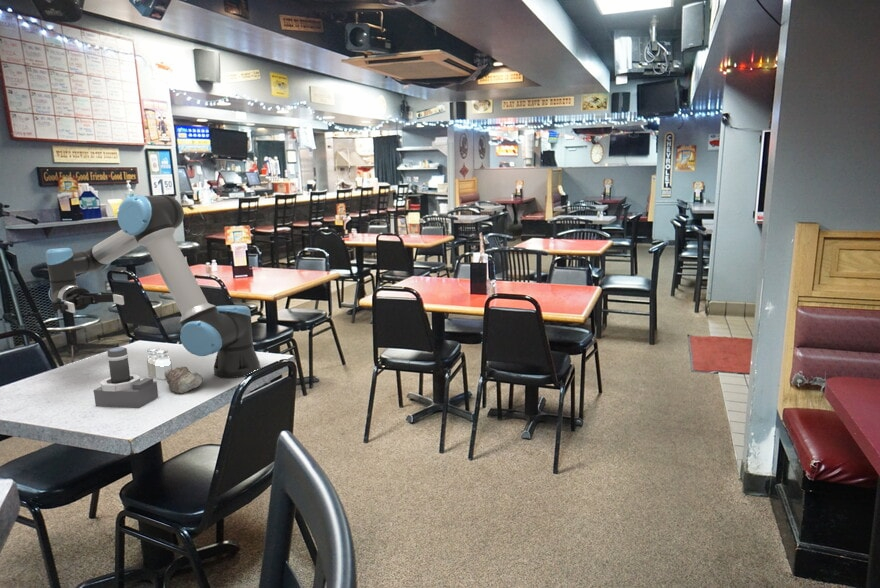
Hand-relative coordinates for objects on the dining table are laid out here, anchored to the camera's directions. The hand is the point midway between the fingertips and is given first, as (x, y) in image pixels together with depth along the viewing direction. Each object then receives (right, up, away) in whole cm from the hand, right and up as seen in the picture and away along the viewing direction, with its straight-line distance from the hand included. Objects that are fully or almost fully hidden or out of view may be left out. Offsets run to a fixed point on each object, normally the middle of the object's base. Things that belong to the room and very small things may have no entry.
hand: (98, 304), depth 176 cm
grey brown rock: (+22, -27, +10) cm, 36 cm away
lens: (+8, -24, -2) cm, 26 cm away
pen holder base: (+10, -29, -1) cm, 31 cm away
